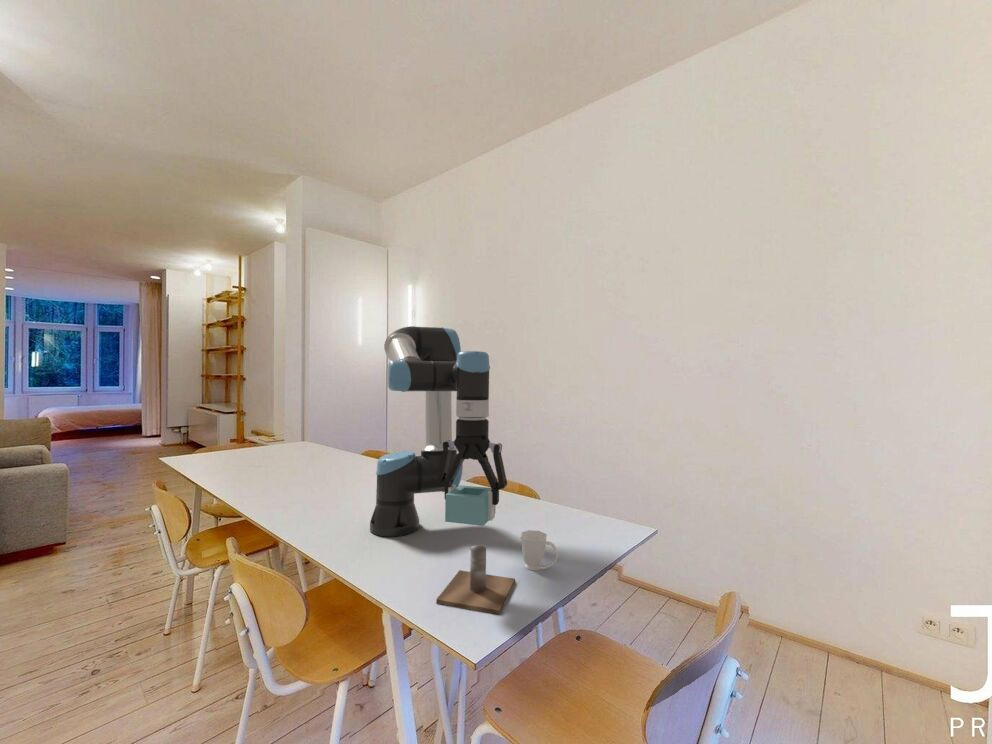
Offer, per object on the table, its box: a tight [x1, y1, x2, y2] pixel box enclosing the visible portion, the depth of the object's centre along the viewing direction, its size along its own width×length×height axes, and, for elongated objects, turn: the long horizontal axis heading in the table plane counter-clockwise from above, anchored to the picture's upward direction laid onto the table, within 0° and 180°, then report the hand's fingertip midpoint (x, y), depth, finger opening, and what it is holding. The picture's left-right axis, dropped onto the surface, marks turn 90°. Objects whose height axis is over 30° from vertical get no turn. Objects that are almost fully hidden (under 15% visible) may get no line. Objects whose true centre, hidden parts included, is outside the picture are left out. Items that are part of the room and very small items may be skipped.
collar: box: [444, 484, 497, 527], centre depth 97 cm, size 9×9×6 cm
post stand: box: [435, 544, 516, 615], centre depth 95 cm, size 14×14×10 cm
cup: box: [520, 530, 559, 571], centre depth 108 cm, size 7×10×8 cm
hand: (471, 516), depth 97 cm, fingers closed on collar, 9 cm apart
